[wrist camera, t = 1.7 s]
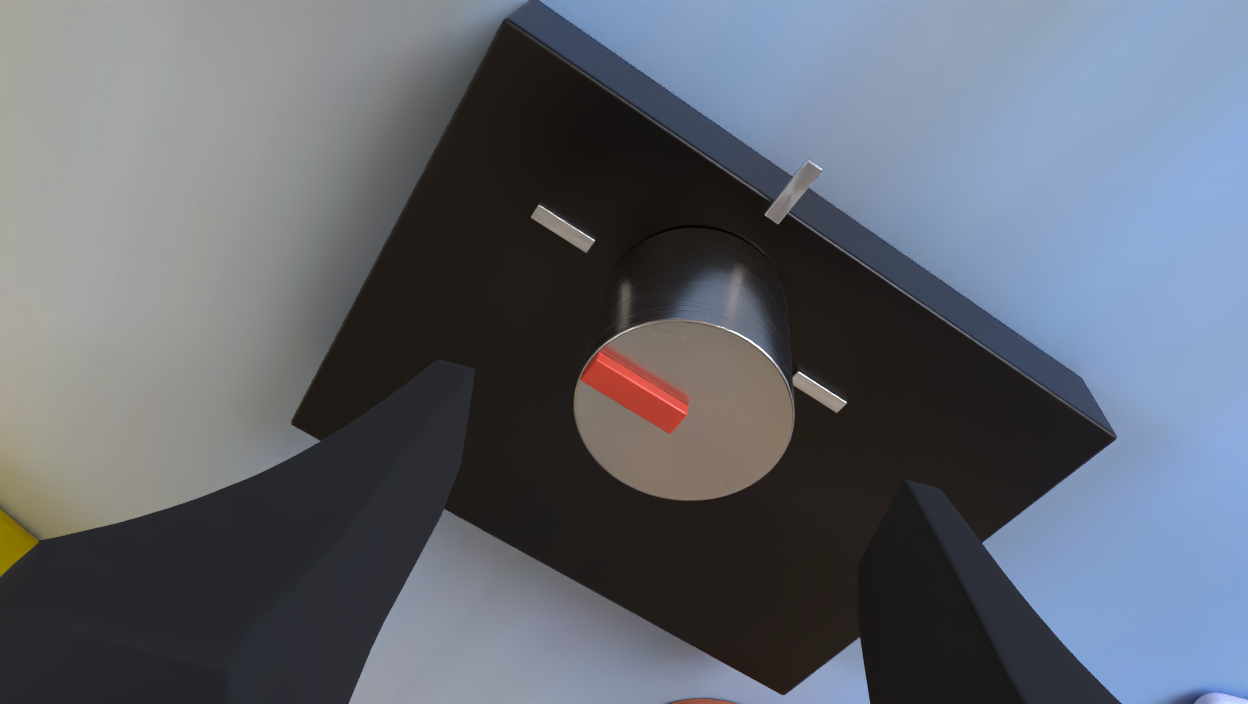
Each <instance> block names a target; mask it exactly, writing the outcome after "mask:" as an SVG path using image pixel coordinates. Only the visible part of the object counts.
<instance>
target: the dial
mask: <svg viewBox="0 0 1248 704" xmlns="http://www.w3.org/2000/svg"><path fill="white" fill-rule="evenodd" d="M573 405H574V416H575V421H576V426H577V429H578V431H579V434H580V436H581V439H582V441H583V442H584V444H585V446H586V448H587V450H588V451H589V452H590V454H591V455H592V456H593V458H594V459H595V460H596V461H597V462H598V463H599V464H600V465H601V466H602V467H603V468H604V469H605V470H606V471H607V472H608V473H610V474H611V475H612V476H613V477H615V478H616V479H618V480H619V481H621V482H622V483H624V484H626V485H628V486H630V487H632V488H634V489H636V490H639V491H641V492H644V493H646V494H649V495H653V496H657V497H660V498H666V499H671V500H682V501H700V500H708V499H715V498H719V497H723V496H727V495H730V494H733V493H735V492H738V491H741V490H743V489H745V488H747V487H749V486H751V485H752V484H754V483H755V482H757V481H758V480H760V479H761V478H762V477H763V476H765V475H766V474H767V473H768V472H769V471H770V470H771V469H772V468H773V467H774V466H775V465H776V464H777V462H778V461H779V460H780V458H781V457H782V455H783V454H784V452H785V451H786V449H787V447H788V444H789V442H790V440H791V437H792V433H793V429H794V422H795V405H794V391H793V377H792V363H791V350H790V336H789V322H788V309H787V299H786V294H785V290H784V287H783V284H782V282H781V279H780V277H779V276H778V274H777V272H776V270H775V269H774V267H773V266H772V265H771V263H770V262H769V261H768V260H767V259H766V258H765V257H764V256H763V255H762V254H761V253H760V252H759V251H758V250H757V249H755V248H754V247H753V246H751V245H750V244H748V243H747V242H745V241H743V240H742V239H740V238H738V237H735V236H733V235H730V234H728V233H724V232H721V231H717V230H712V229H706V228H682V229H675V230H671V231H666V232H663V233H660V234H658V235H655V236H653V237H651V238H649V239H647V240H645V241H643V242H642V243H640V244H639V245H637V246H636V247H634V248H633V249H632V250H631V251H630V252H629V253H628V254H627V255H626V256H625V257H624V258H623V259H622V260H621V261H620V263H619V264H618V266H617V267H616V269H615V270H614V272H613V274H612V276H611V278H610V281H609V283H608V286H607V289H606V293H605V296H604V299H603V302H602V305H601V308H600V311H599V314H598V317H597V321H596V324H595V327H594V330H593V333H592V336H591V339H590V342H589V346H588V349H587V352H586V355H585V358H584V361H583V364H582V367H581V370H580V374H579V377H578V380H577V384H576V387H575V391H574V402H573Z"/></svg>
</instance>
